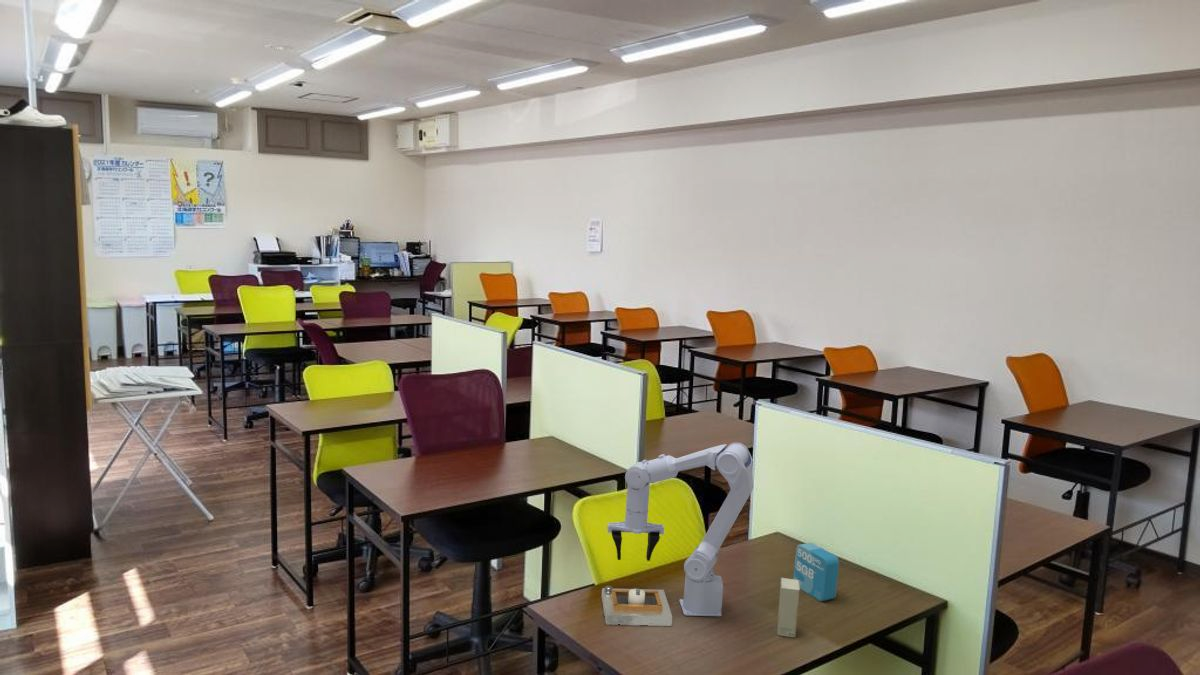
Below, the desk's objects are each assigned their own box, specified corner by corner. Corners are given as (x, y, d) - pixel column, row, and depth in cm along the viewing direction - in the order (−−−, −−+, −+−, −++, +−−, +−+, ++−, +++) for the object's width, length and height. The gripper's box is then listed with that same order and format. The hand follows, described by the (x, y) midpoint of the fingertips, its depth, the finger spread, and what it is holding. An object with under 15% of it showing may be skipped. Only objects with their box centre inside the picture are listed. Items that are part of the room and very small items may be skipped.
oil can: (641, 607, 204) (643, 583, 203) (645, 614, 200) (646, 591, 199) (626, 607, 203) (627, 584, 202) (629, 615, 199) (631, 591, 198)
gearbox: (663, 598, 209) (664, 586, 209) (671, 626, 196) (672, 612, 195) (601, 597, 208) (602, 584, 208) (605, 624, 194) (606, 611, 194)
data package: (792, 584, 223) (796, 542, 221) (804, 581, 225) (809, 540, 223) (822, 603, 212) (827, 560, 210) (835, 600, 214) (840, 557, 212)
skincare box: (795, 638, 193) (800, 590, 191) (776, 635, 194) (781, 588, 192) (794, 625, 199) (799, 579, 198) (776, 623, 200) (780, 576, 198)
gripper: (610, 513, 204) (606, 564, 206) (667, 515, 205) (663, 566, 207) (608, 503, 211) (604, 553, 213) (663, 505, 212) (659, 554, 214)
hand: (633, 558), depth 210 cm, fingers open, 7 cm apart
